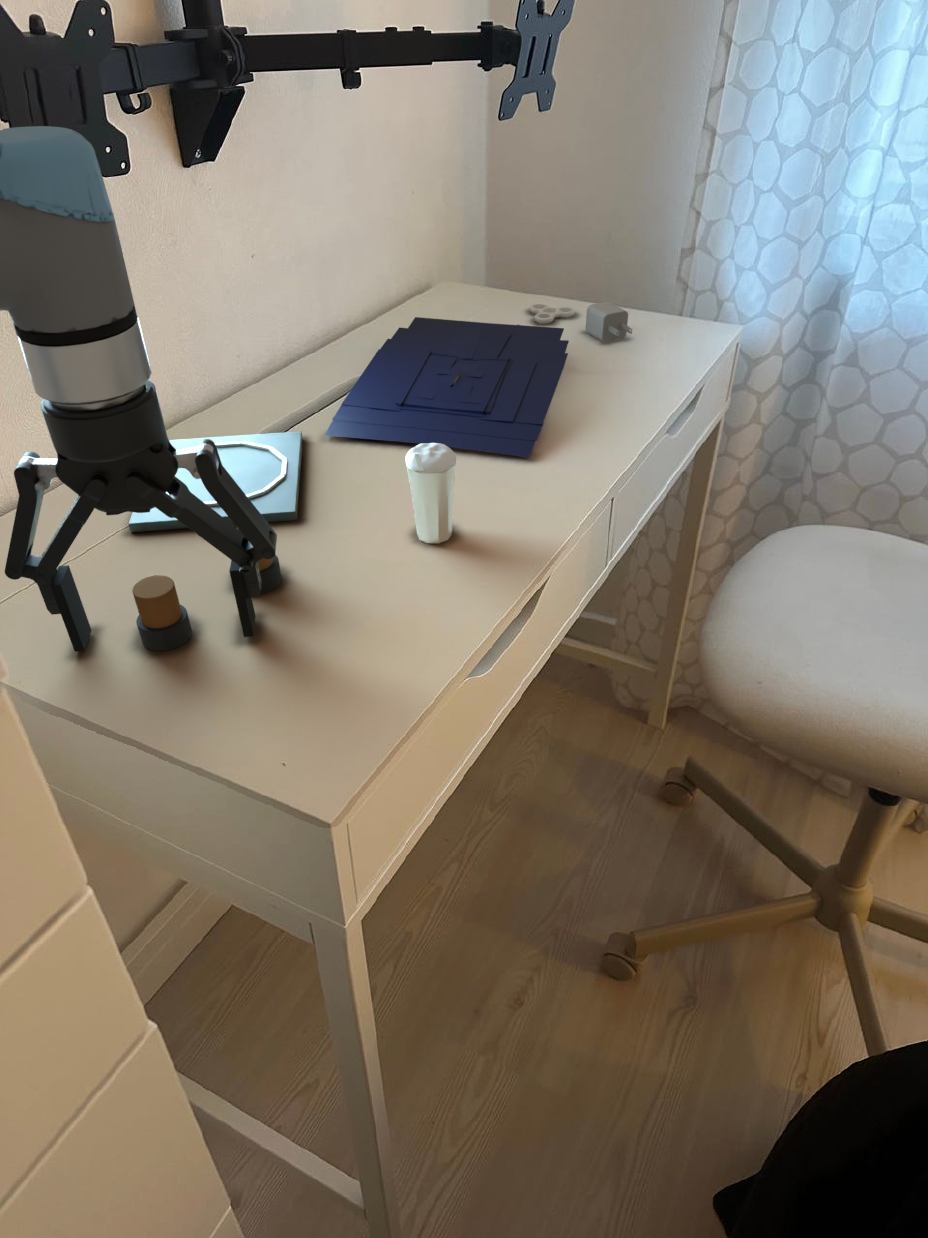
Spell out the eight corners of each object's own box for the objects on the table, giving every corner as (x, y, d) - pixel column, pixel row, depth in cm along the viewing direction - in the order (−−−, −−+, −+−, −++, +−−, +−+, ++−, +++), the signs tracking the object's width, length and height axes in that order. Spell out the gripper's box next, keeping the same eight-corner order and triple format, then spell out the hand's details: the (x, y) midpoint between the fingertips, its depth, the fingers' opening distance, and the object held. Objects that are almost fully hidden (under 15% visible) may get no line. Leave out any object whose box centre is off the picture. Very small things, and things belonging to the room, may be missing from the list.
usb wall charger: (609, 328, 128) (611, 300, 126) (636, 344, 123) (639, 315, 121) (585, 333, 127) (587, 305, 124) (611, 349, 122) (614, 320, 119)
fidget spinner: (577, 312, 133) (577, 307, 133) (563, 326, 129) (563, 321, 128) (533, 307, 136) (533, 301, 135) (518, 320, 131) (518, 315, 131)
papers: (577, 348, 119) (578, 322, 116) (531, 478, 98) (531, 450, 96) (403, 334, 124) (401, 309, 121) (325, 455, 103) (320, 428, 101)
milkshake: (399, 547, 84) (392, 450, 77) (421, 519, 87) (415, 424, 81) (445, 556, 82) (441, 458, 76) (464, 526, 86) (462, 431, 80)
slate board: (130, 532, 87) (127, 521, 86) (159, 448, 101) (157, 437, 100) (296, 520, 88) (295, 508, 87) (302, 438, 102) (301, 428, 101)
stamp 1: (138, 653, 72) (122, 603, 69) (146, 623, 75) (131, 574, 72) (188, 649, 72) (175, 599, 69) (195, 619, 75) (182, 570, 72)
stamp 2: (234, 595, 78) (223, 547, 75) (238, 569, 81) (228, 522, 78) (280, 591, 78) (271, 543, 75) (282, 566, 81) (274, 519, 78)
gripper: (283, 355, 64) (319, 594, 77) (-74, 378, 63) (24, 619, 76) (278, 398, 58) (318, 649, 71) (-117, 424, 57) (-3, 677, 70)
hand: (167, 634), depth 74 cm, fingers open, 13 cm apart
